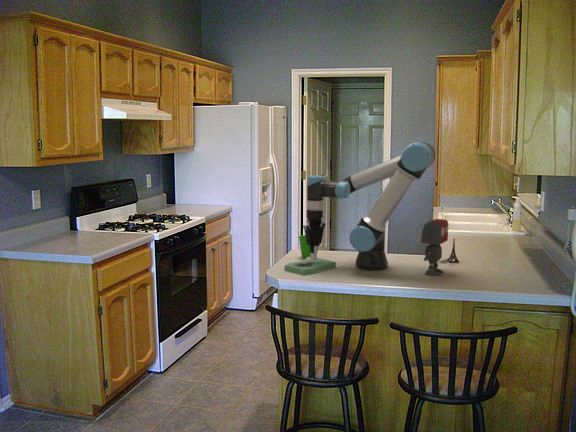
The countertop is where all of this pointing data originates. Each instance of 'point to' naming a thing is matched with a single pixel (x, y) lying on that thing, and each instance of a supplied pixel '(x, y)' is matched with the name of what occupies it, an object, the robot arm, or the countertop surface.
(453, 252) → the eiffel tower figurine
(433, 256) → the toy robot
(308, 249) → the cup
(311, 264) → the green flat slab
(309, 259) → the ball
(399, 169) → the robot arm
